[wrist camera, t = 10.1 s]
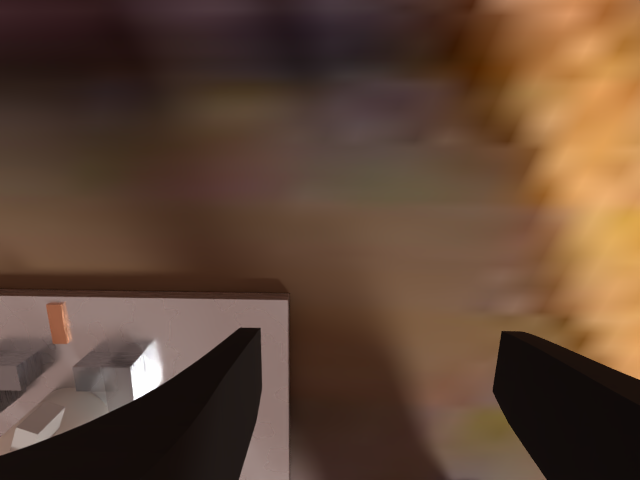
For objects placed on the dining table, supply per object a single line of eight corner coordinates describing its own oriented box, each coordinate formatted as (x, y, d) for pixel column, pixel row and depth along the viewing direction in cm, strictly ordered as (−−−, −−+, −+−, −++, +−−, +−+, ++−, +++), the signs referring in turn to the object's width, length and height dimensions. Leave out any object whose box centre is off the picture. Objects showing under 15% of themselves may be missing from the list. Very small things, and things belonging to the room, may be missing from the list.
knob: (102, 457, 22) (35, 550, 17) (32, 435, 21) (-58, 523, 16) (127, 383, 21) (63, 458, 16) (53, 358, 20) (-38, 426, 15)
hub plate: (290, 508, 24) (287, 548, 22) (30, 505, 24) (-3, 545, 22) (289, 293, 20) (285, 311, 18) (-19, 288, 20) (-65, 306, 18)
